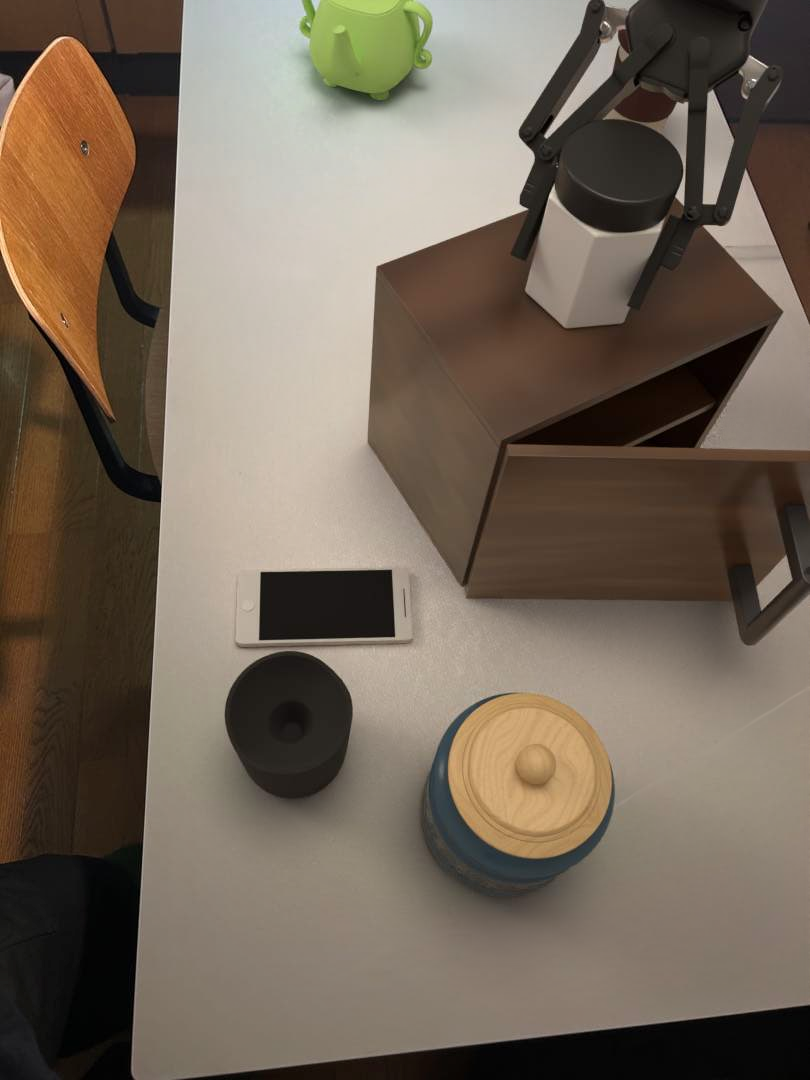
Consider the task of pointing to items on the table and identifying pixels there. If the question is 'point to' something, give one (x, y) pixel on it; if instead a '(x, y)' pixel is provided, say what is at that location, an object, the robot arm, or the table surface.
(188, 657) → the table surface
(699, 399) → the cupboard
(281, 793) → the pen holder
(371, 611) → the smartphone
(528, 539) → the cupboard door
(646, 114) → the coffee cup
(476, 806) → the canister
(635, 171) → the jar
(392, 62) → the teapot
